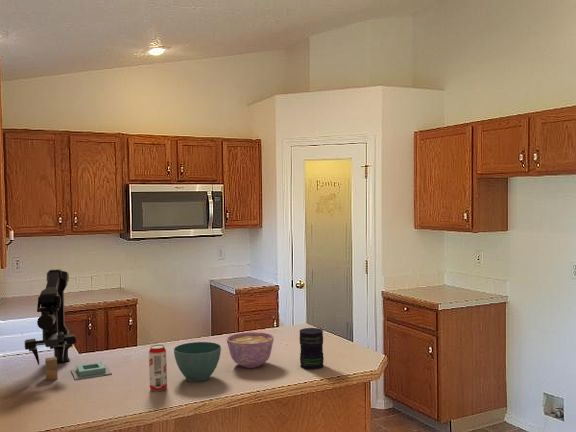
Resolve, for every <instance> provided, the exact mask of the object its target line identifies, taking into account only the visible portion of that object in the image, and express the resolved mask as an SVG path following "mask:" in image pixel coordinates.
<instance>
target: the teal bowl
mask: <svg viewBox="0 0 576 432" xmlns="http://www.w3.org/2000/svg"><path fill="white" fill-rule="evenodd" d="M221 350H222V346H221V345H220V344H219V343H215V342H210V341H195V342H193V341H192V342H186V343H183V344H179V345H177V346H174V348H173V354H174V355H173V356H174V359H175V362H176V365H177V367H178V370H179V371H180V373H181V374H182V375H183V376H184V378H185V379H186V380H187V381H190V382H194V383H195V382H205V381H207V380H208V379H209V378H210V377H211V376H212V375H213V373H214V372H215V370H216V369H217V366H218V364H219V362H220V361H219V360H220V357H221V352H222V351H221Z"/></svg>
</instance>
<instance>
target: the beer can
mask: <svg viewBox="0 0 576 432" xmlns="http://www.w3.org/2000/svg"><path fill="white" fill-rule="evenodd" d="M149 348H150V349H149V351H148V364H149V365H148V366H149V367H148V370H149V371H148V372H149V389H150V390H151V391H153V392H156V393H157V392H162V391H165V390H166V389H167V387H168V375H167V373H168V372H167V350H166V348H165V345H163V344H154V345H151V346H150V347H149Z"/></svg>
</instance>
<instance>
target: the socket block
mask: <svg viewBox="0 0 576 432" xmlns="http://www.w3.org/2000/svg"><path fill="white" fill-rule="evenodd" d="M70 372H71V374H72V376H73V378H74V380H75V381H78V380H85V379H92V378H98V377H105V376H111V375H112V371H111V370H110V369H109V367H108V365H107V364H104V363H103V362H102V361H98V362H90V363H85V364H77V365H76V368H73V369H71V370H70Z"/></svg>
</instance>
